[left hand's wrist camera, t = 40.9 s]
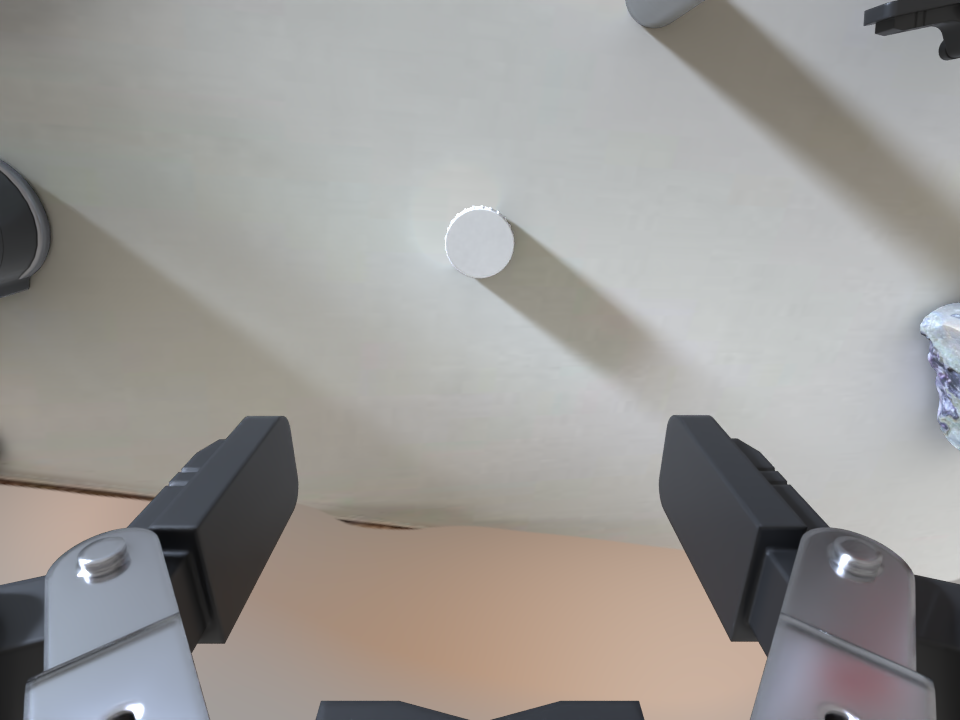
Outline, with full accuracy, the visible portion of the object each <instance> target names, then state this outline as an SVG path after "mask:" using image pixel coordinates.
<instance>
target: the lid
mask: <svg viewBox="0 0 960 720" xmlns="http://www.w3.org/2000/svg"><path fill="white" fill-rule="evenodd" d="M510 227H511V225H510V223H508V222H507V220H506V217H505V216H504V217H503V216H502V215H501V214H500V213H499V211H495V210H494V209H492V208H491V207H490V208H488V207H483V205H481V206H479V207H474V206H473V207H472V208H469V209H466V208H465V209H464V211H462V212H461V213H460V214H459V213H458V214H457V216H456V217H455V219H454V220H453V219H452V221H451V225H450V227H448V229H447V231H448V232H447V235H446V237H445V240H446V243H445V245H446V246H445V248H446V252H447V257H448V258H449V260H450V262H451V264H452V265H453V266H454V267H455V268H456V269H457V270H458V271H459V272H461V273H462V274H464V275H466V276H469V277H472V278H487V277H491V276H493V275H495V274H497V273H499V272H500V271H501V270H503V269H504V268H505V267H506V265H507V264H508V263H509V261H510V259H511V257H512V254H513V253H514V251H513V250H514V244H515V242H514V237H513V236H514V233H513V232H512V230H511V228H510Z"/></svg>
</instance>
